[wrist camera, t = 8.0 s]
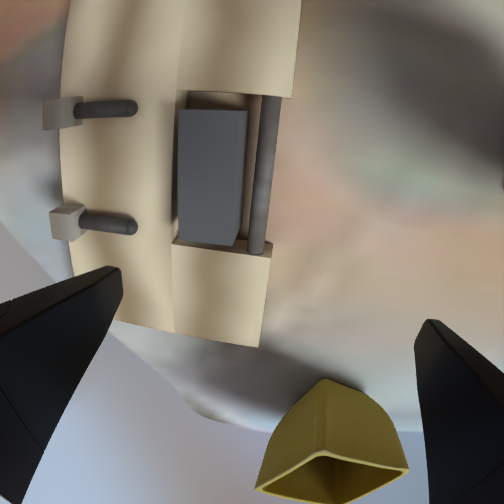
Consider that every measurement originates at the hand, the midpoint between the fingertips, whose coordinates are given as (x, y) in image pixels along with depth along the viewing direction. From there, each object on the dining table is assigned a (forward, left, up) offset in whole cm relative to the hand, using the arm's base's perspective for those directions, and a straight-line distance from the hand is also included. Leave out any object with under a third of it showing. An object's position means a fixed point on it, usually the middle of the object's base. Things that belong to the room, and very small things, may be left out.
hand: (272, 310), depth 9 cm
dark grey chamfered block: (+4, -1, -12) cm, 13 cm away
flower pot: (-7, +18, -12) cm, 22 cm away
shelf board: (+7, -1, -12) cm, 14 cm away
